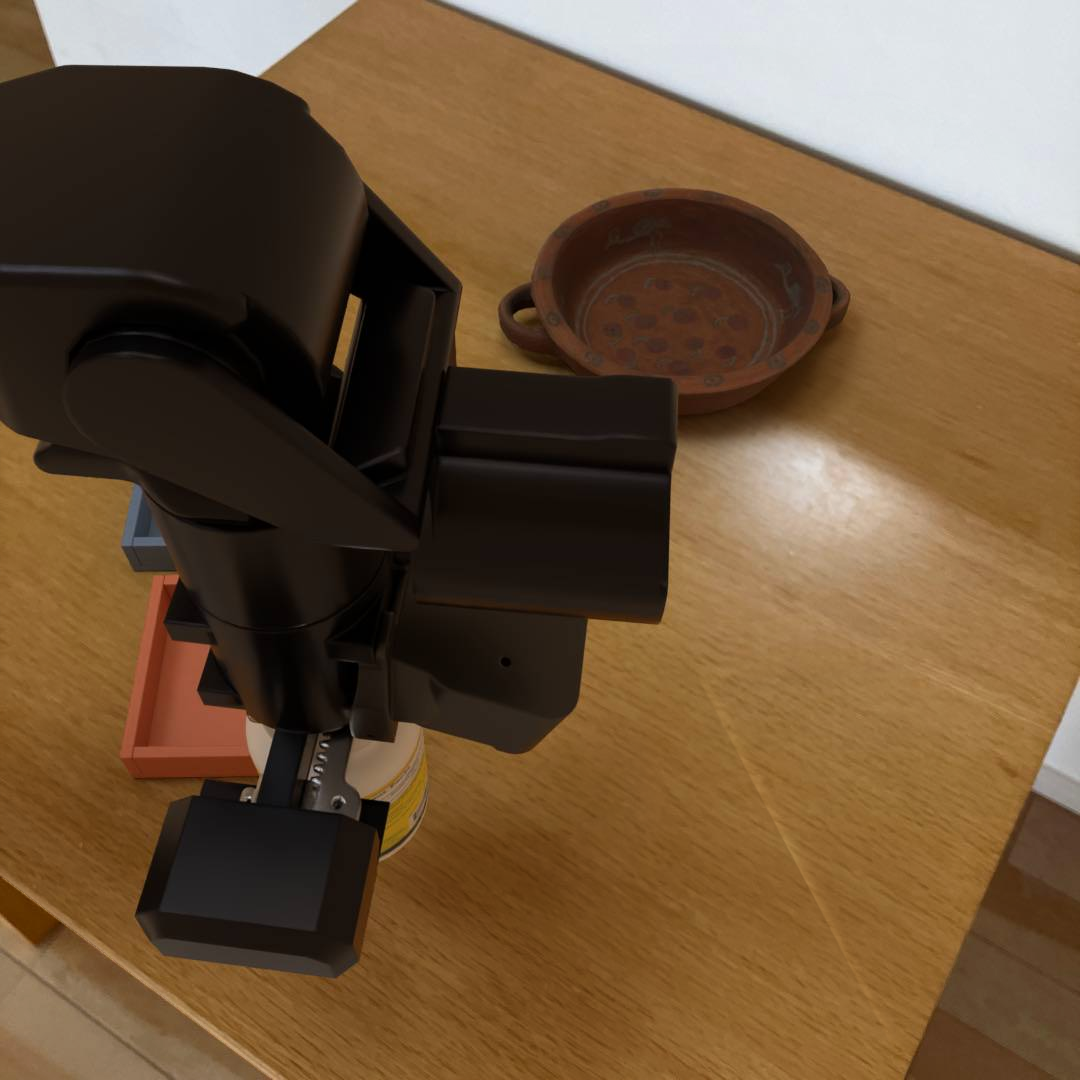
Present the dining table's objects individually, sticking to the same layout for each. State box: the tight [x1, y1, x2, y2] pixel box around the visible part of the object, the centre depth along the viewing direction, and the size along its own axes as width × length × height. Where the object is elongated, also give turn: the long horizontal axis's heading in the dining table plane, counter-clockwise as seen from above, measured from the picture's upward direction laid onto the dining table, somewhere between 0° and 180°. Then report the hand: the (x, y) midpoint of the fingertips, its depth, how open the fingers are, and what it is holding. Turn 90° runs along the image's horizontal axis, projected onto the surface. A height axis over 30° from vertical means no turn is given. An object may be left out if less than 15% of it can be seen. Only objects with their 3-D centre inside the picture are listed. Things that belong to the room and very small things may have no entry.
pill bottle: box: [246, 716, 429, 863], centre depth 43 cm, size 6×6×11 cm
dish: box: [497, 187, 851, 416], centre depth 72 cm, size 18×22×5 cm
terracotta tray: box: [119, 574, 259, 779], centre depth 59 cm, size 12×10×2 cm
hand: (346, 764), depth 45 cm, fingers closed on pill bottle, 6 cm apart
